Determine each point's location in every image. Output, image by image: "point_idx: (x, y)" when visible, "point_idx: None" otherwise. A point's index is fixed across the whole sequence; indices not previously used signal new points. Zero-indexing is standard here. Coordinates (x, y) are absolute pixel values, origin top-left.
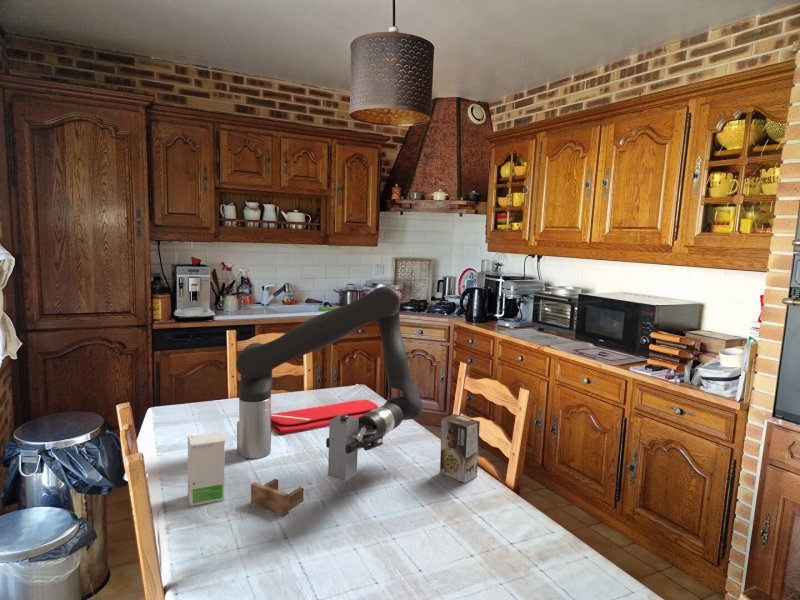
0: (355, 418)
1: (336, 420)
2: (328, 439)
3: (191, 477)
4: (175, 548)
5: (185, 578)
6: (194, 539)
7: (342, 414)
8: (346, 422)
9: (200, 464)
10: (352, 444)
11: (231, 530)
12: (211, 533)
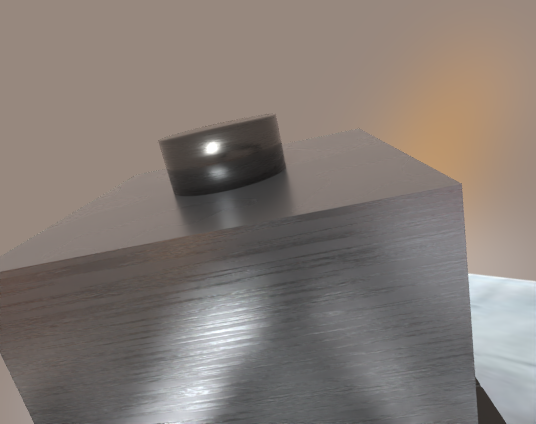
0: (47, 245)
1: (291, 148)
2: None
3: None
4: (505, 285)
5: None
6: (521, 307)
7: (419, 185)
8: (158, 177)
9: None
10: None
11: (516, 359)
12: (529, 331)
